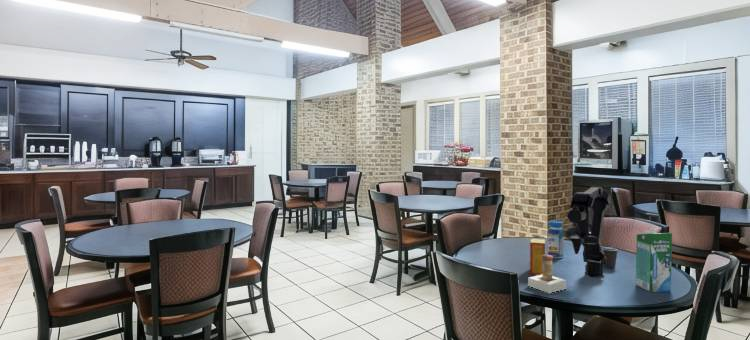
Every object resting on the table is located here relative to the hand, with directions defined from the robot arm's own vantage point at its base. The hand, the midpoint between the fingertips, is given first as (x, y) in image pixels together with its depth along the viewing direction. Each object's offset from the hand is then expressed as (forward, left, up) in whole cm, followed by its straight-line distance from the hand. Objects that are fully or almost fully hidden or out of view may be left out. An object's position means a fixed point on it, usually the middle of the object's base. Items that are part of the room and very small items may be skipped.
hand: (581, 256), depth 180 cm
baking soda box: (+12, -19, -13) cm, 26 cm away
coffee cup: (-27, -28, -13) cm, 41 cm away
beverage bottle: (-8, -48, -13) cm, 50 cm away
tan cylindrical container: (+16, +4, -13) cm, 21 cm away
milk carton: (-29, +4, -13) cm, 32 cm away
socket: (+16, +4, -13) cm, 21 cm away
